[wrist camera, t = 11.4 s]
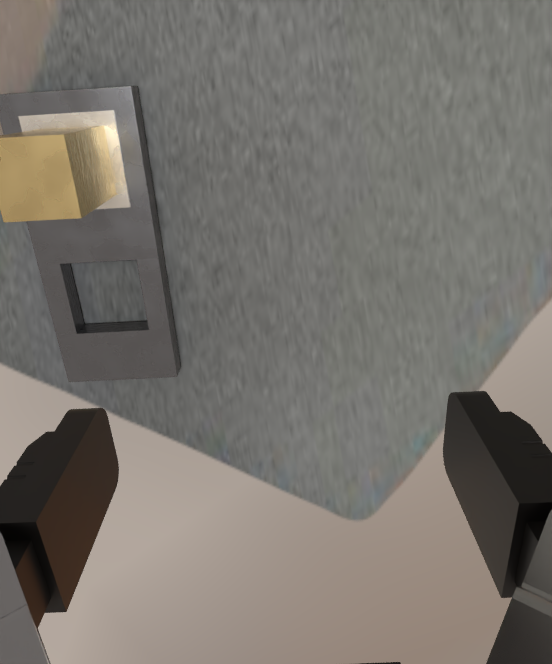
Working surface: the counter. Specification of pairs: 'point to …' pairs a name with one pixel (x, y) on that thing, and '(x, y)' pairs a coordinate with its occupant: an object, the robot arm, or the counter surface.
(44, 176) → the yellow wooden block
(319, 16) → the counter surface
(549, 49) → the counter surface
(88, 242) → the grey slotted holder
